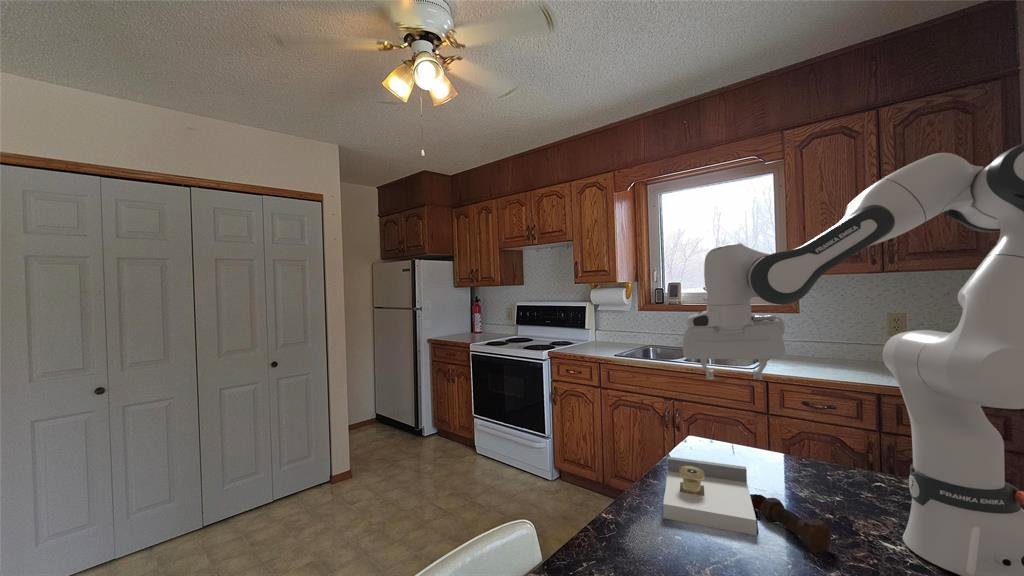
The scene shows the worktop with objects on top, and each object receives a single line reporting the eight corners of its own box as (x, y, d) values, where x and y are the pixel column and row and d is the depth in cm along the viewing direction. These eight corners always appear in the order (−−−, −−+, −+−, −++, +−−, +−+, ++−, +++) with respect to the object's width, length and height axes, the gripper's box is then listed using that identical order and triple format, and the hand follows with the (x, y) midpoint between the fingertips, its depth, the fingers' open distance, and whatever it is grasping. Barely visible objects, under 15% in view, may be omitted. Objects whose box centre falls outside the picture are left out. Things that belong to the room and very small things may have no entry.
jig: (746, 492, 97) (745, 466, 97) (756, 535, 81) (756, 504, 81) (668, 480, 104) (667, 456, 104) (663, 518, 87) (662, 489, 87)
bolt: (759, 517, 90) (824, 559, 75) (741, 508, 89) (803, 548, 75) (769, 492, 91) (836, 528, 76) (752, 483, 90) (815, 518, 75)
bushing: (702, 498, 95) (703, 467, 95) (704, 510, 90) (705, 478, 90) (678, 493, 97) (679, 463, 96) (679, 505, 92) (680, 474, 92)
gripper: (780, 313, 92) (785, 376, 92) (680, 317, 100) (685, 375, 100) (786, 316, 86) (791, 383, 86) (680, 319, 94) (684, 381, 94)
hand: (733, 378), depth 93 cm, fingers open, 8 cm apart
